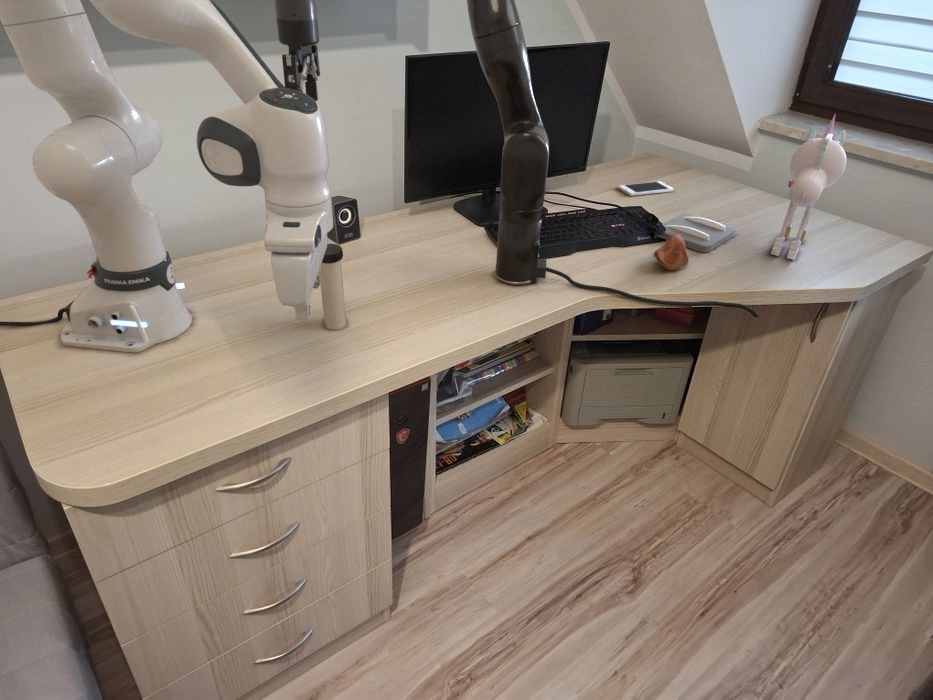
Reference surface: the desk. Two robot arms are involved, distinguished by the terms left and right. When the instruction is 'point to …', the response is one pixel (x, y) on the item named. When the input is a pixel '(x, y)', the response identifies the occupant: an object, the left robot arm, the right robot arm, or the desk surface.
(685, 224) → the light switch
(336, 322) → the beige cylindrical bottle
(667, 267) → the fossil
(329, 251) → the lid
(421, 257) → the desk surface
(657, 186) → the smartphone
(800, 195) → the toy
